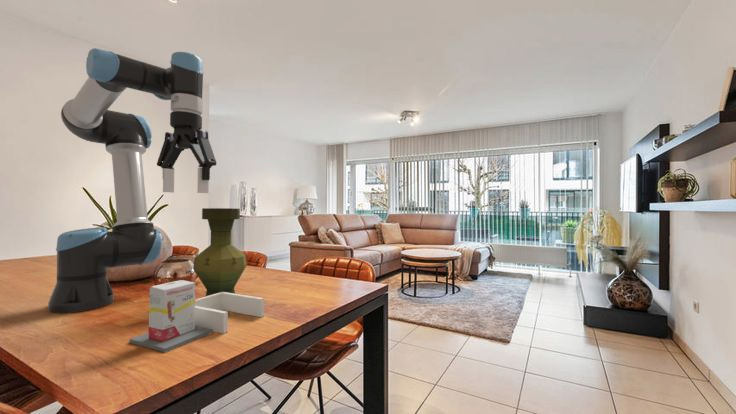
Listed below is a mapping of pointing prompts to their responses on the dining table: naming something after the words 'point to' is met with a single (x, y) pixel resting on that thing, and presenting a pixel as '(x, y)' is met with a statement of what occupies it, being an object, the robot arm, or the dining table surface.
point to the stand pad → (171, 343)
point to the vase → (220, 253)
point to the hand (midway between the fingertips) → (185, 192)
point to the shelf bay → (216, 319)
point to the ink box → (171, 310)
